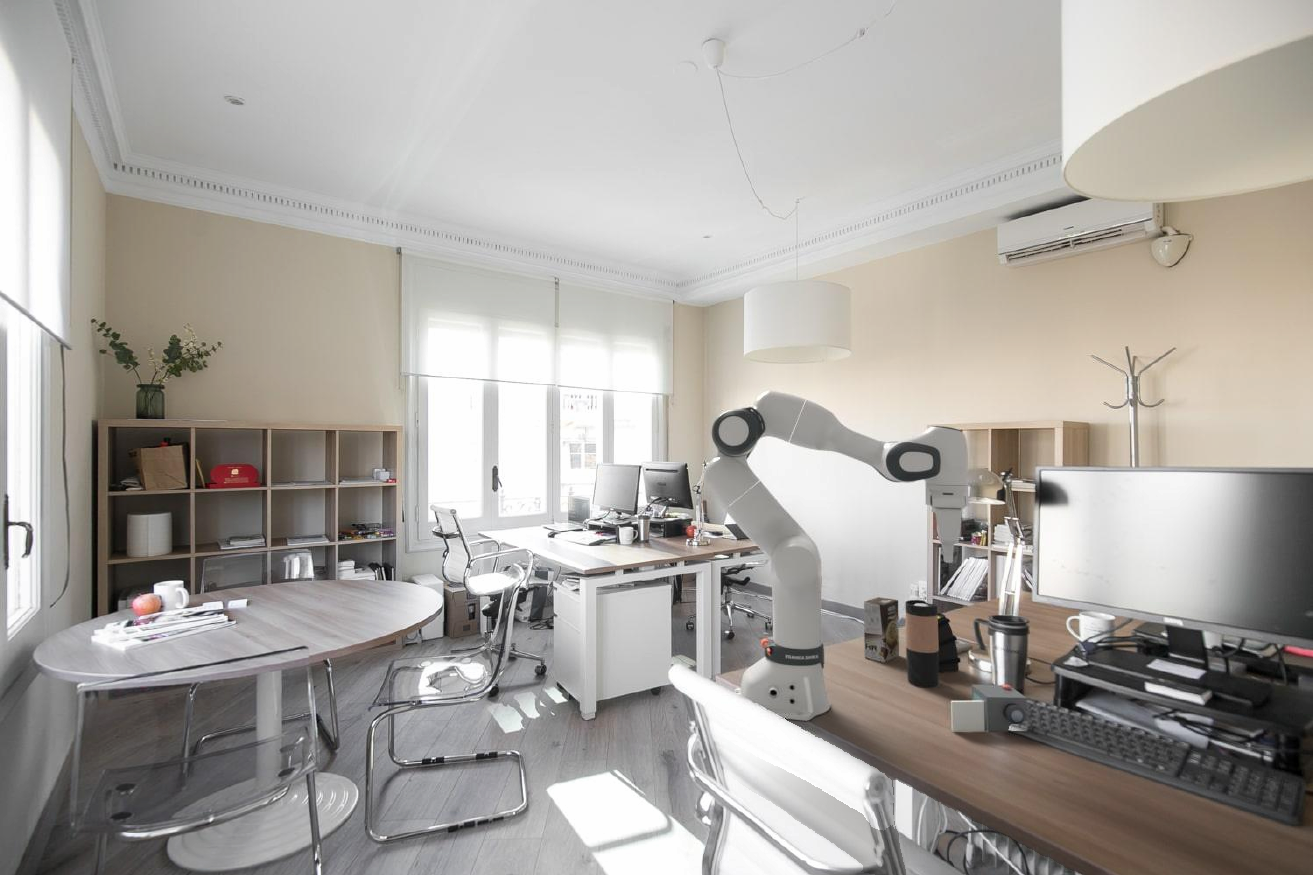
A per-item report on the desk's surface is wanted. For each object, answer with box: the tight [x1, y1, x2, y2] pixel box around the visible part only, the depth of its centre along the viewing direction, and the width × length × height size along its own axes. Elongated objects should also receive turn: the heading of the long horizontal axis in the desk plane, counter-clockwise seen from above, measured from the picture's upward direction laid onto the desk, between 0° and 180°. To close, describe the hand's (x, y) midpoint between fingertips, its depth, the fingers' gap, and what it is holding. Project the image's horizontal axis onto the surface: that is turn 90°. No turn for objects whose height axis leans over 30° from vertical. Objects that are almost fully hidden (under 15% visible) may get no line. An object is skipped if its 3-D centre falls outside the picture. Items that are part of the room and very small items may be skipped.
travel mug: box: [905, 599, 940, 689], centre depth 154 cm, size 8×8×20 cm
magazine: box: [937, 612, 961, 673], centre depth 162 cm, size 4×13×15 cm, turn 95°
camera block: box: [971, 684, 1028, 733], centre depth 128 cm, size 8×9×8 cm
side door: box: [950, 699, 988, 732], centre depth 126 cm, size 1×7×6 cm, turn 91°
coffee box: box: [863, 596, 900, 663], centre depth 174 cm, size 9×6×16 cm
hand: (947, 559), depth 136 cm, fingers open, 8 cm apart
